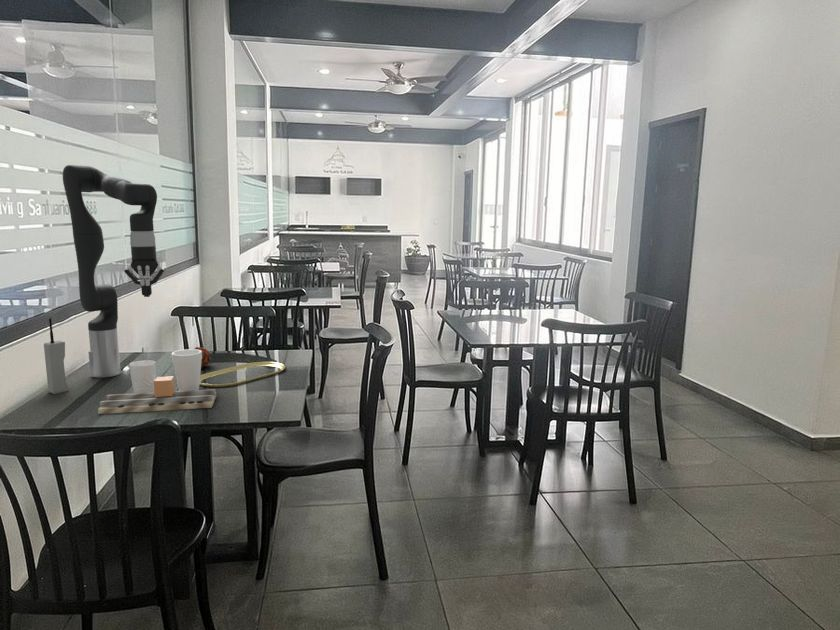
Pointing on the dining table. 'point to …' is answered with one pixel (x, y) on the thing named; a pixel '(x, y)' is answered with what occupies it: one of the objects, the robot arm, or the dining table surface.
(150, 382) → the white cup
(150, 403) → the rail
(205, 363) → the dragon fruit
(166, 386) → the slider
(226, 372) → the gold oval ring
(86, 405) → the dining table surface
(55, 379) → the vintage mobile phone
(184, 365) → the foam cup
